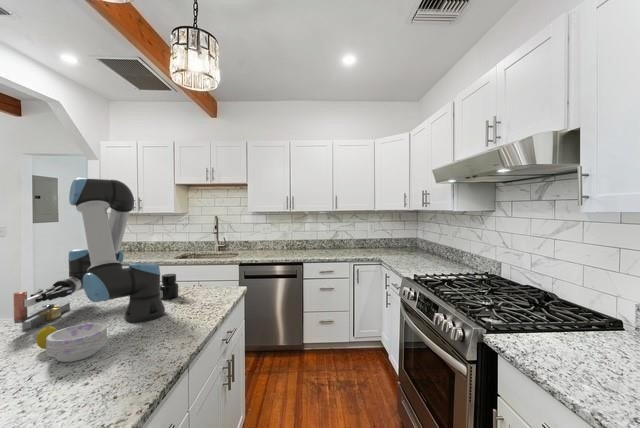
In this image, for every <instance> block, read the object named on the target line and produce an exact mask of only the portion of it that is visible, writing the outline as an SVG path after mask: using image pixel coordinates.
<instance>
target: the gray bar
mask: <svg viewBox="0 0 640 428" xmlns="http://www.w3.org/2000/svg"><path fill="white" fill-rule="evenodd" d="M70 305H71V302H61V303H58V304H57V305H54V308H52V309H48V310H46V311H44V312H42V313H40V314H38V315H36V316H34V317H32V318H30V319H28V320H27V321H25V322H23V323H21V324H22V325H21V326H22V327H21V329H22V330H23V331H24V330H33V329H34V328H36V327H38V326H40V325H42V324H44V323H46V322H50V321H53V320H55V319H57V318H58V317H61V315H62V314H63V313H65V312H67V311H68V309H69V310H70V309H71V306H70Z"/></svg>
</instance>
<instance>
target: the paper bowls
mask: <svg viewBox="0 0 640 428" xmlns="http://www.w3.org/2000/svg"><path fill="white" fill-rule="evenodd" d="M107 328H108V326H107V325H106V324H104V323H101V322H99V323H96V322H93V323H82V324H75V325H72V326H68V327H65V328H62V329H61V328H60V329H57V330H58V331H55V332H53V333H51V334H50V335H49V336H48V337H47V338H46V349H45V351H46V355H48V356H49V357H55V359H56V361H59V362H62V363H72V362H77V361H81V360H83V359H84V360H85V359H87V358H89V357H91V356H93V355H95V354H97V352H98V351H99V349H100V347H101V346H104V344H106V343H107V340H108V332H107V331H108V329H107Z"/></svg>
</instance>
